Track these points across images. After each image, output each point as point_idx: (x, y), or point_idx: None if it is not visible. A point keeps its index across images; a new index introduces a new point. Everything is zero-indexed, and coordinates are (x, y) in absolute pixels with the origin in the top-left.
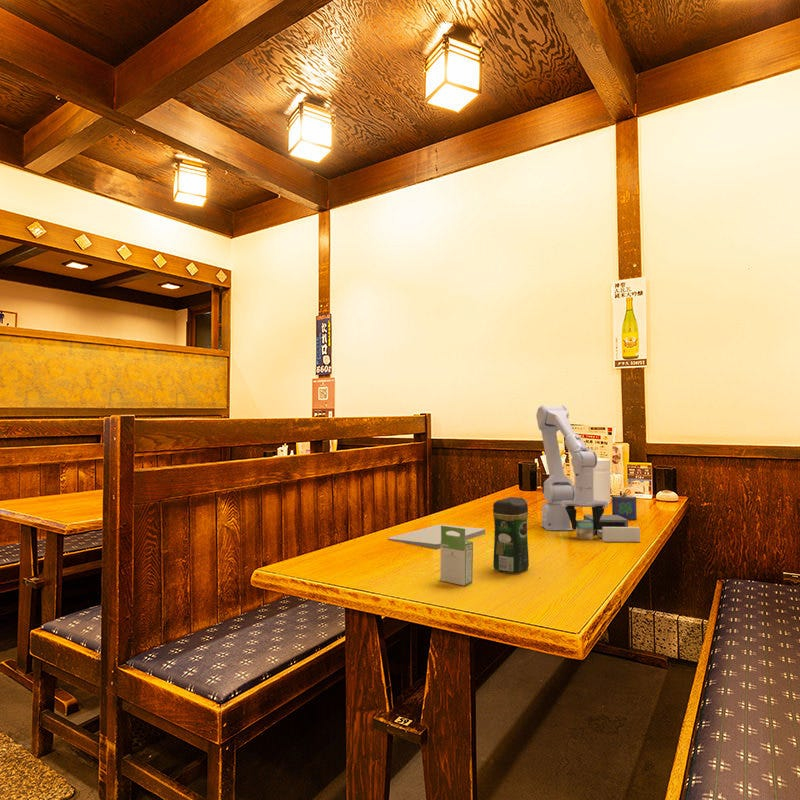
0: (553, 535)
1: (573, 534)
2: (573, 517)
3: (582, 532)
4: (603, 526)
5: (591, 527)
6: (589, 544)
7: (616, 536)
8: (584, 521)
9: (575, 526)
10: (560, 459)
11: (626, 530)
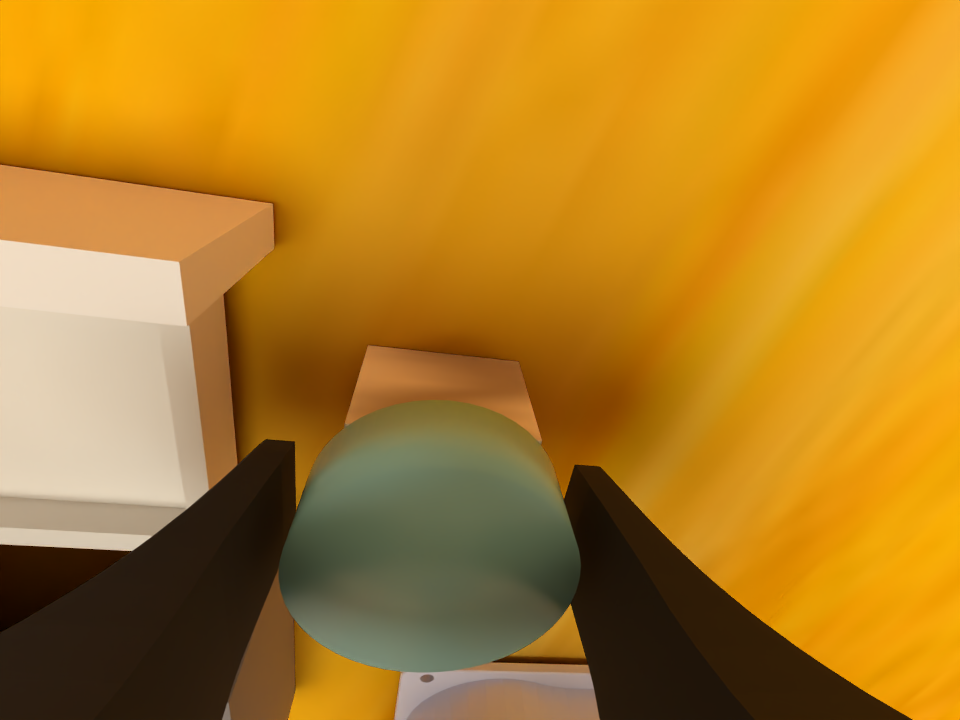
0: (687, 533)
1: None
2: (717, 605)
3: (503, 404)
4: None
5: (368, 426)
6: (541, 83)
7: (3, 184)
8: (437, 577)
9: (602, 489)
10: None
11: None
